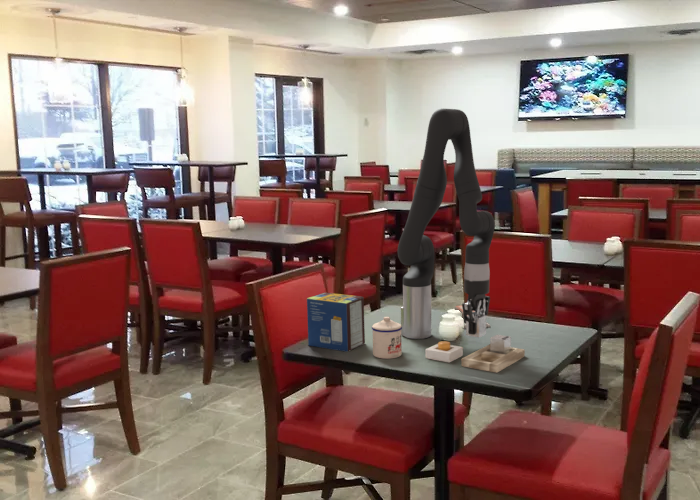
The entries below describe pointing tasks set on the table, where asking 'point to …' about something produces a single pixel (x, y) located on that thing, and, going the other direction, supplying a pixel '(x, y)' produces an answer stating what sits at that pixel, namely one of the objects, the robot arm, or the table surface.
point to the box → (444, 353)
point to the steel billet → (478, 326)
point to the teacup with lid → (387, 339)
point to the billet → (500, 344)
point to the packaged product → (467, 315)
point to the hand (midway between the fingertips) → (476, 331)
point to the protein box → (336, 321)
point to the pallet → (492, 359)
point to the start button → (444, 345)
